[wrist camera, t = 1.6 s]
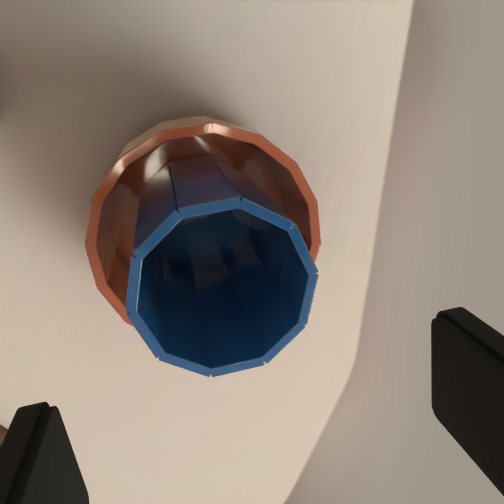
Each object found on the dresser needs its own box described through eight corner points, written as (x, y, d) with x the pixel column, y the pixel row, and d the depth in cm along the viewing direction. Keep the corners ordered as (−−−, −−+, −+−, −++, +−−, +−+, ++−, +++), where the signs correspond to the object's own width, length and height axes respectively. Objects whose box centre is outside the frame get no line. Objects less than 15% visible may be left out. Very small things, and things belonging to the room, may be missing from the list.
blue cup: (124, 167, 25) (101, 222, 15) (250, 146, 26) (310, 184, 16) (151, 280, 27) (147, 393, 17) (265, 257, 28) (325, 351, 18)
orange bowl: (79, 133, 25) (56, 146, 19) (276, 102, 26) (309, 106, 20) (127, 313, 28) (119, 367, 23) (296, 277, 30) (328, 320, 24)
